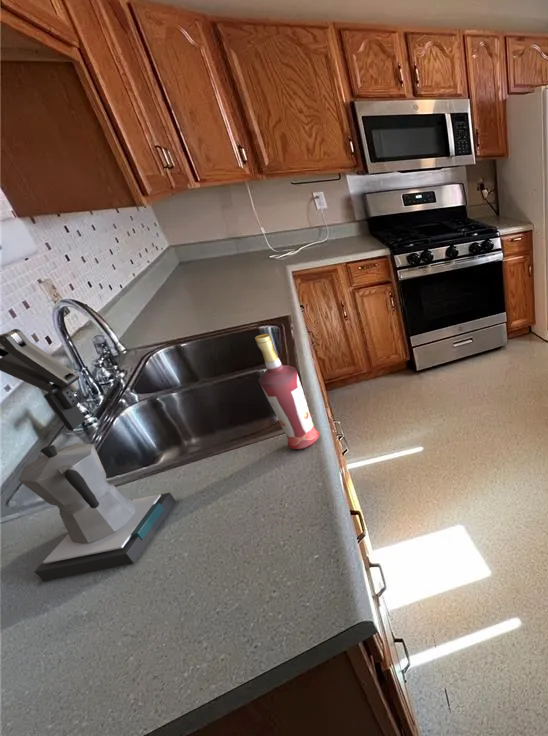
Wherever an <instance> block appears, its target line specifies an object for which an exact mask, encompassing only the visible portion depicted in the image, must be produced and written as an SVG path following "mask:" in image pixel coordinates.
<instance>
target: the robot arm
mask: <svg viewBox="0 0 548 736" xmlns="http://www.w3.org/2000/svg"><path fill="white" fill-rule="evenodd" d="M0 372H3V373H5V374H7V375H9V376H10V377H11V376H12V377H13V378H16V379H18V380H20V381H23V382H25V383H26V384H29V385H32V386H34V387H36V388H38V389H40V390H43V391H45V392H47V393H46V394H44V395H43V397H44V399H45V400H46V401H47V402H48V404H49V405H50V407H51V409H52V410H53V411H54V413H55V414H56V415H57V416H58V418H59V419H60V421H61V422H62V424H63V425H64V426H65V428H66V429H67V430H68V431H74V430H75V429H77V428H78V427H79V426H80V425H81V424H83V423H84V422H85V421H86V420H87V418H86V416H85V415H84V414H83V412H82V411H81V409H80V408H79V406H78V405H79V400H78V399H77V397H76V396H75V394H74V392H73V391H72V390H71V388H70V386H71V385H72V384H74V383H75V382H77V381H78V380H79V379H80V375H79V374H78V373H76V372H75V371H73V370H72V369H71V368H69V367H67V366H66V365H64V364H63V363H62V362H60V361H59V360H58V359H56V358H55V357H54V356H52V355H50V354H49V353H48V352H46V351H44V349H41V348H40V347H39V346H37V345H36V344H35V343H33V342H32V341H30V340H29V338H28V337H27V336H26V335H25V334H24V332H23V331H22V330H21V329H18V328H14V329H11V330H9V331H7V332H5V333H1V334H0Z"/></svg>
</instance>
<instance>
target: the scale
mask: <svg viewBox="0 0 548 736" xmlns="http://www.w3.org/2000/svg"><path fill="white" fill-rule="evenodd" d="M130 500H131V501H133V502H134V503H135V513H134V516H133V517H132V518H131V519H130V521H129V522H128V523H127V524H125V525H124V526H123V527H122V528H120V529H119V530H118V531H116V532H114V533H113V534H111V535H109V536H107V537H105V538H103V539H100V540H98V541H95V542H91V543H77V542H72V540H71V538H70V536H69V534H68V533H67V534H66V535H65V537H64V538H62V540H61V541H60V542H59V543H58V544H57V546H55V548H54V549H53V550H52V551H51V552H50V553H49V554H48V555H47V557H45V558H44V560H43V561H42V562H41V564H40V565H39V566H38V567H37V568H36V569H35V570H34V571H33V572H34V574H35V575H36V576H37V577H38V578H39V579H40V580H41V581H42V582H48V581H52V580H58V579H63V578H68V577H72V576H79V575H82V574H88V573H93V572H97V571H102V570H107V569H113V568H118V567H122V566H127V565H133V564H135V563H136V561H137V559H138V558H139V557H140V555H141V554H142V552H143V551H144V550H145V548H146V547H147V545H148V543H150V541H151V539H152V538H153V536H154V535H155V533H156V532H157V530H158V529H159V527H160V526H161V524H162V523H163V522H164V520H165V519H166V517H167V516H168V514H169V513H170V511H171V510H172V509H173V507H174V506H175V504H176V502H177V501H176V499H175V498H174V496H173V494H172V493H171V492H165V493H160V494H155V495H149V496H144V497H138V498H133V499H130Z"/></svg>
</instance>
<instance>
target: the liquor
mask: <svg viewBox="0 0 548 736" xmlns="http://www.w3.org/2000/svg"><path fill="white" fill-rule="evenodd" d="M254 339H255V340H254V341H255V342H256V345H257V347H258V348H259V350H260V351H261V354H262V358H263V359H264V364H265V366H266V370H265V371H264V372H263V373H262V374H261V375H260V376H259V378H258V383H259V385H260V386H261V388H262V390H263V392H264V395H265V397H266V399H267V401H268V403H269V405H270V407H271V408H272V411H273V412H274V413H275V416H276V418H277V420H278V422H279V424H280V427H281V428H282V430H283V432H284V435H285V437H286V439H287V446H288V448H289V449H293V450H306V449H308V448H310V447H312V446H313V445H314V444H315V443H316V441H317V440H318V439H319V437H320V432H319V431H318V430H317V429H316V427H315V425H314V422H313V419H312V415H311V412H310V410H309V407H308V403H307V400H306V396H305V393H304V389H303V386H302V384H301V380H300V377H299V375H298V371H297V368H296V367H295V366H291V365H286V364H282V362H281V360H280V358H279V356H278V354H277V352H276V351H275V348H274V344H273V341H272V340H273V339H272V338H271V336H270V333H262V334H258V335H257V336H255V337H254Z"/></svg>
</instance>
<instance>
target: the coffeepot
mask: <svg viewBox="0 0 548 736" xmlns="http://www.w3.org/2000/svg"><path fill="white" fill-rule="evenodd" d="M95 447H96V446H94V443H82V442H81V443H78V442H77V443H73V444H70V445H68V446H64V447H56V446H55V444H50V445H47V446H44V447H43V448H42V449H41V450H40V454H39V455H38V457H37V459H36V460H34V461H32V462H31V463H30V464H27V465H26V466H24V467H23V469H22V471H21V473H20V475H19V477H18V479H17V481H18V482H20V483H21V484H23V485H24V486H25V487H26V488H28V489H29V490H30V491H32V492H33V493H35V495H37V496H38V497H40V498H41V499H42V500H44V501H45V502H46V503H48V504H49V505H52V506H56V507H57V508H58V509H59V516H60V518H61V521H62V522H63V525H64V527H65V529H66V531H67V535H68V534H69V536H70V538H71V540H72V542H77V543H91V542H95V541H98V540H100V539H103V538H105V537H107V536H109V535H111V534H113V533H114V532H116V531H118V530H119V529H120V528H122V527H123V526H124V525H125V524H127V523H128V522H129V521H130V519H131V518H132V517H133V516H134V513H135V503H134V502H133V501H131V500H132V499H130V498H129V497H128V496H127V495H125V494H124V493H123V492H122V491H121V490H119V488H117V487H116V486H115V485H114V484H112V483H109V482H108V481H107V473H106V471H105V468H104V466H103V464H102V462H101V459H100V456H99V454H98V452H97V450H96V448H95Z"/></svg>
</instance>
